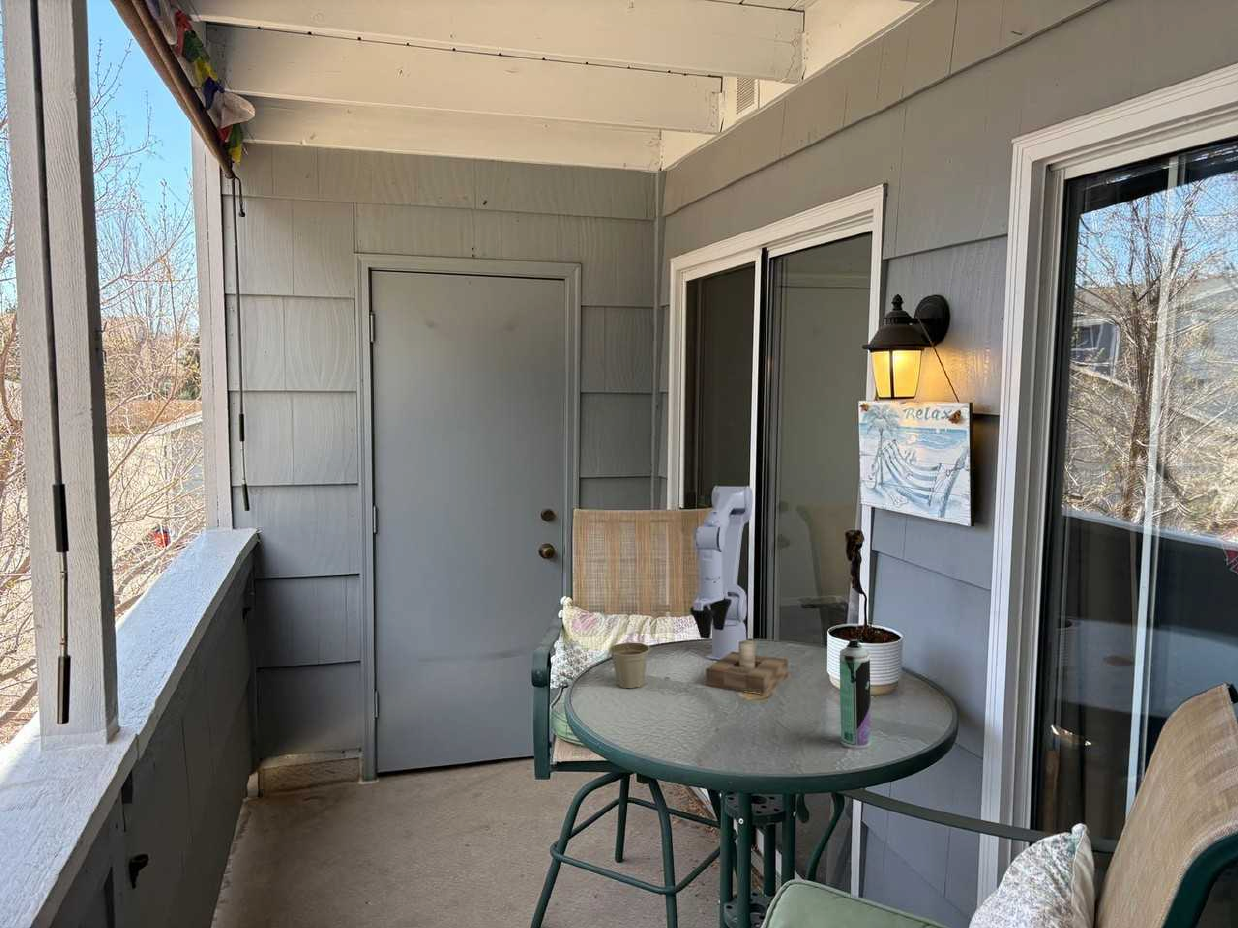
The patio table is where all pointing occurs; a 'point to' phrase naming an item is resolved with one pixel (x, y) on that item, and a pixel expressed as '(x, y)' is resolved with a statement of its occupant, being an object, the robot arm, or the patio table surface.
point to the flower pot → (630, 663)
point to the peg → (747, 654)
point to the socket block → (747, 674)
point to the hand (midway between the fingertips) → (712, 633)
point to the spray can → (855, 696)
